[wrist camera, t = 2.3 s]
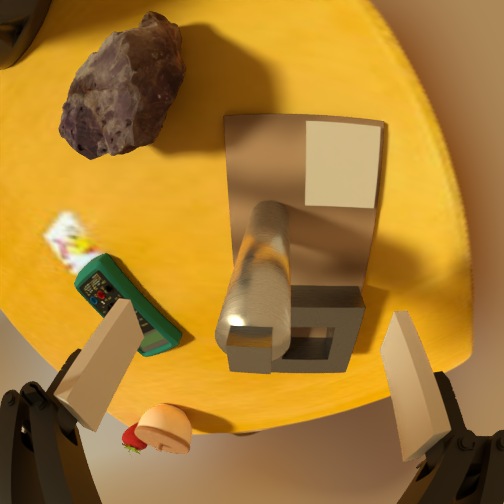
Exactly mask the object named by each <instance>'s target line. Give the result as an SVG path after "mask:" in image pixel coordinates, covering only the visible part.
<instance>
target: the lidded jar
mask: <svg viewBox="0 0 504 504" xmlns="http://www.w3.org/2000/svg"><path fill="white" fill-rule="evenodd" d="M134 433H135V435H136V436H137V437H138V438H139V439H140V440H142V441H143V442H145V443H146V444H148V445H150V446H152V447H155V448H156V450H158V451H162V450H163V451H167V452H171V453H177V454H185V453H188V452H189V450H190V443H191V438H192V427H191V423H190V421H189V419H188V418H187V417H186V413H185V412H184V411H183V410H181V409H179V408H178V407H175V406H173V405H169V404H163V403H161V404H158V405H157V406H154V407H151V408H150V409H148V410H147V411H146V412H145V413H144V414H143V415H142V417H141V419H140V420H139V423H138V425H137V427H136V429H135V431H134Z"/></svg>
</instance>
